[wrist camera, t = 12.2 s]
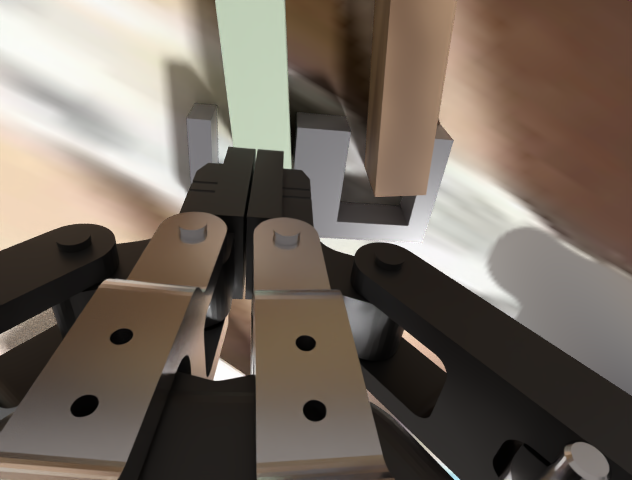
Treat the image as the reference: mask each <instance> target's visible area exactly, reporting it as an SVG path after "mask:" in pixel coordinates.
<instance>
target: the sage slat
mask: <svg viewBox="0 0 632 480" xmlns="http://www.w3.org/2000/svg"><path fill="white" fill-rule="evenodd" d="M215 4H216V12H217V20H218V28H219V36H220V44H221V52H222V60H223V68H224V76H225V84H226V92H227V100H228V108H229V116H230V124H231V132H232V140H233V147H239V148H251V149H256V156H257V150H258V149H264V150H277V151H284V163H283V168H284V169H292V153H291V129H290V105H289V81H288V58H287V34H286V10H285V0H215Z"/></svg>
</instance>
